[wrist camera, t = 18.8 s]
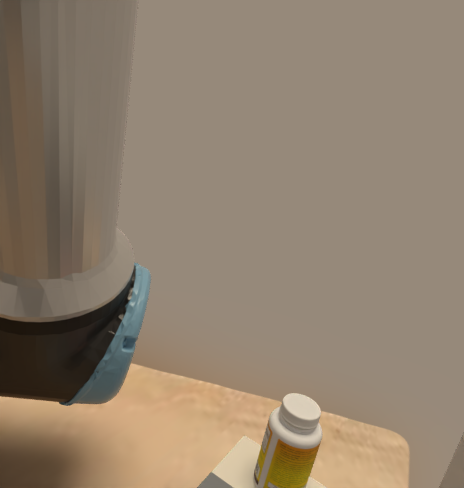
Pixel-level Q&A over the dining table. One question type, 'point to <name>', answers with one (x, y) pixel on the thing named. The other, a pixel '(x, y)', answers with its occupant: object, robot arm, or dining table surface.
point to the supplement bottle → (289, 444)
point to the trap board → (240, 468)
